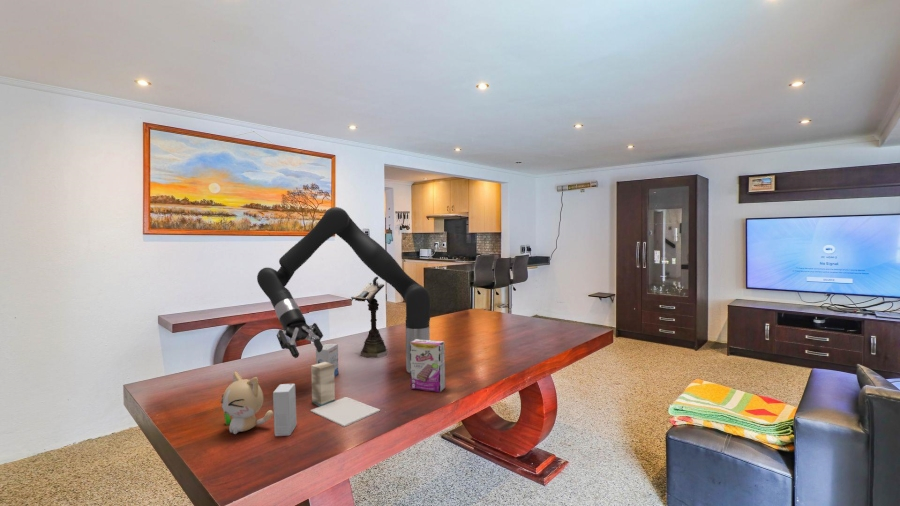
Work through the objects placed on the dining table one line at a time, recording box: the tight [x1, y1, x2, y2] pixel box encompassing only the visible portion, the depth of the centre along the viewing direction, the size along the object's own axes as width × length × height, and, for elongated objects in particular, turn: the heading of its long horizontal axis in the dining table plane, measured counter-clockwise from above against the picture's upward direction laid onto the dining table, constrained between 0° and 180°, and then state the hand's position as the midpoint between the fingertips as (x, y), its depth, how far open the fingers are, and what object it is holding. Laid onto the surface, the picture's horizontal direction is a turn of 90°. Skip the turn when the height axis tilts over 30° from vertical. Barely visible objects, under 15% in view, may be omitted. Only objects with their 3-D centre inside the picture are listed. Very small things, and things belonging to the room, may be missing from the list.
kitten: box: [220, 371, 274, 435], centre depth 113 cm, size 15×10×15 cm
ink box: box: [315, 343, 339, 377], centre depth 154 cm, size 9×5×12 cm, turn 168°
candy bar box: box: [410, 339, 446, 393], centre depth 141 cm, size 11×5×16 cm, turn 71°
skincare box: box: [272, 383, 298, 437], centre depth 112 cm, size 6×4×12 cm
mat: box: [310, 396, 381, 428], centre depth 124 cm, size 16×13×1 cm
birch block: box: [310, 362, 336, 407], centre depth 131 cm, size 5×5×12 cm
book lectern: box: [350, 276, 388, 359], centre depth 181 cm, size 17×13×35 cm
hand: (309, 353), depth 135 cm, fingers open, 8 cm apart
